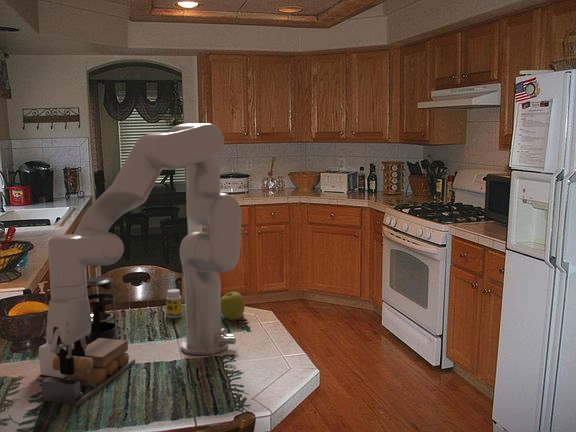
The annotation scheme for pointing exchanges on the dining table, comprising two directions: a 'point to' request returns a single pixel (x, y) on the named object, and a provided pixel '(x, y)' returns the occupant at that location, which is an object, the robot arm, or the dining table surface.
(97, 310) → the french press
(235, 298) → the apple
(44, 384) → the block
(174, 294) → the supplement bottle
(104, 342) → the slab
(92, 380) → the track
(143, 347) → the dining table surface
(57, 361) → the roller
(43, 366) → the medicine bottle
